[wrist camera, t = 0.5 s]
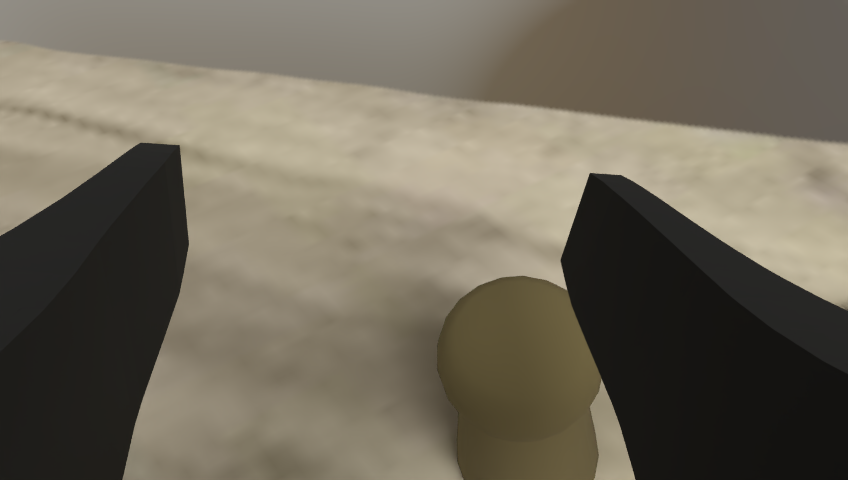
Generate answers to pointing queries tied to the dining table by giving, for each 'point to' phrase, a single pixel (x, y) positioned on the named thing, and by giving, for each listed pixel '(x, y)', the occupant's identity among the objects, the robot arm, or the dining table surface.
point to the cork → (520, 383)
